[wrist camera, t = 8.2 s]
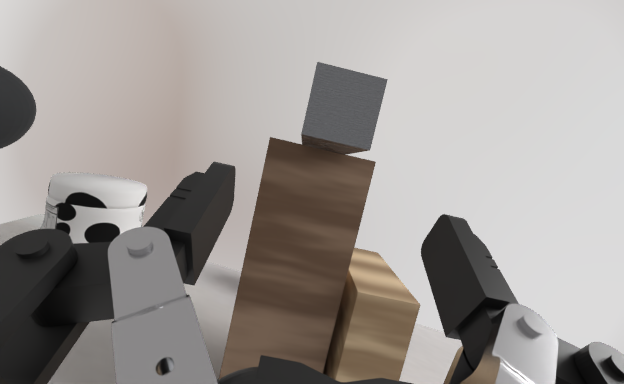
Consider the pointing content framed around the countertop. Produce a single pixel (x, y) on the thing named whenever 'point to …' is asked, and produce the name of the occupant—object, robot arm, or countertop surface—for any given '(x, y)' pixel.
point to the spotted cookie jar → (94, 206)
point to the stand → (317, 274)
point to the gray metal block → (342, 110)
